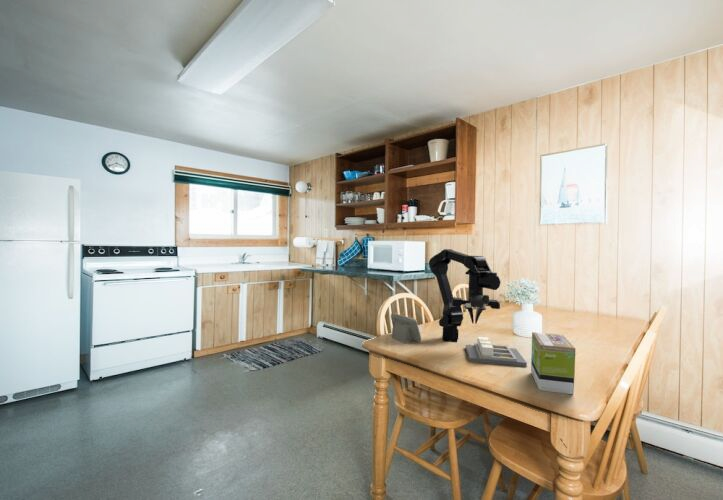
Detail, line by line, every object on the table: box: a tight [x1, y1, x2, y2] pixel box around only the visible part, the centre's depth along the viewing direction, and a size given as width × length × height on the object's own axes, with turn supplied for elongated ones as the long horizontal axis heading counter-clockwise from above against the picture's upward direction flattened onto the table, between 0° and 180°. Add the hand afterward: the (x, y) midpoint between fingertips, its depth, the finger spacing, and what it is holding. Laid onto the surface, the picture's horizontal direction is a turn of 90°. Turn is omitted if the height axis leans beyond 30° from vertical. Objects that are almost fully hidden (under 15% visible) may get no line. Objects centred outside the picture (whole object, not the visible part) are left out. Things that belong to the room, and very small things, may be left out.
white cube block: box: [479, 340, 492, 351], centre depth 138 cm, size 4×4×4 cm
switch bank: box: [465, 342, 528, 368], centre depth 137 cm, size 20×16×2 cm
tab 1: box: [476, 336, 490, 347], centre depth 143 cm, size 4×4×4 cm
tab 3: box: [481, 344, 494, 356], centre depth 133 cm, size 4×4×4 cm
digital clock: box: [390, 312, 422, 343], centre depth 159 cm, size 16×9×11 cm, turn 25°
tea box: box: [530, 331, 576, 395], centre depth 114 cm, size 15×10×15 cm
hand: (474, 323), depth 145 cm, fingers closed
